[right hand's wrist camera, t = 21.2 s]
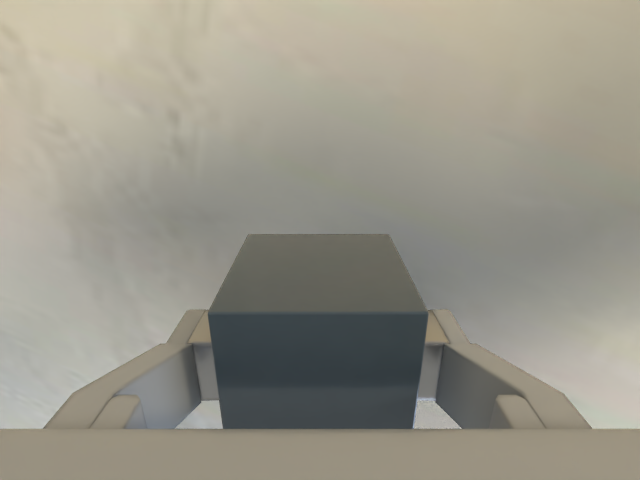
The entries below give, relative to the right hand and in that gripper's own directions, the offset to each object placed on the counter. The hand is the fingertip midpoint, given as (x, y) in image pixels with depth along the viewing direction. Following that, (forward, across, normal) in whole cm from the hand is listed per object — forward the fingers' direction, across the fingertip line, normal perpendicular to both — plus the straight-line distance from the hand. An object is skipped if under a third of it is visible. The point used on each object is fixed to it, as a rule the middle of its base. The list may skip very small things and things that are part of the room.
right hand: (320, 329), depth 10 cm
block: (+2, 0, 0) cm, 2 cm away
